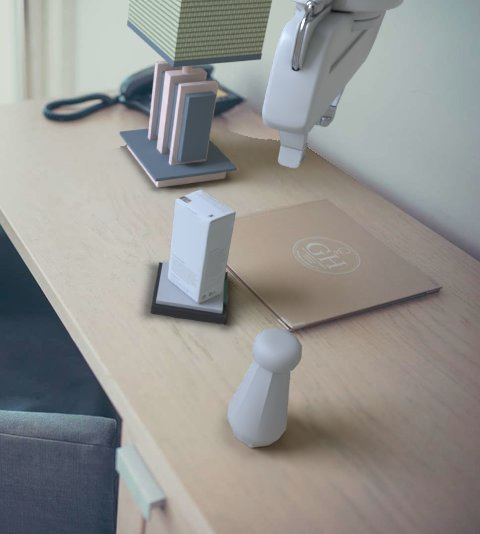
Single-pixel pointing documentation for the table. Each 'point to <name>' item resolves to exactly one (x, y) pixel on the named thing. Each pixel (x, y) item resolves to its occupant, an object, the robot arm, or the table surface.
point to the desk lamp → (190, 81)
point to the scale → (186, 300)
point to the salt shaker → (265, 389)
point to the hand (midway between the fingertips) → (306, 142)
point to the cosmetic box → (200, 245)
